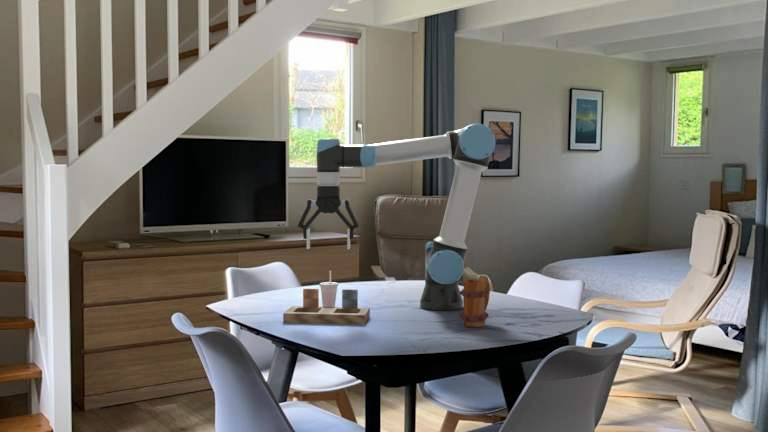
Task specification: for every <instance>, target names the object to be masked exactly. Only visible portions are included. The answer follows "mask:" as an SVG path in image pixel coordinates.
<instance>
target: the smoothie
mask: <svg viewBox="0 0 768 432" xmlns="http://www.w3.org/2000/svg"><path fill="white" fill-rule="evenodd" d="M338 287H339V283H338V282H336V281H332V270H329V281H324V282H323V281H322V282H320V283H319V288H320V292H321V293H320V295H321V302H322V307H336V300H337V294H338V293H337V292H338Z"/></svg>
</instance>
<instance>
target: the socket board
mask: <svg viewBox="0 0 768 432" xmlns="http://www.w3.org/2000/svg"><path fill="white" fill-rule="evenodd" d="M319 291H320V290H319V288H302V305H291V306H290V307H288V308H287V310H284V312H283V314H282V315H283V316H282V318H283V320H282V321H283V324H288V323H289V324H322V325H323V324H325V325H329V324H330V325H359V324H365V323H367V322H368V320H369V319H370V315H371V308H370V307H359V306H358V302H359V301H358V300H359V299H358V298H359V296H358V292H359V290H358V289H348V288H347V289H346V288H342V290H341V306H335V307H323V306H319V301H320V297H319V295H320V294H319ZM365 325H366V324H365Z"/></svg>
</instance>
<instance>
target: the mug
mask: <svg viewBox="0 0 768 432" xmlns="http://www.w3.org/2000/svg"><path fill="white" fill-rule="evenodd" d="M489 281H490V280H489V278H488V276H486V275H479V277H478V278H477V279H475V280H474V279H468V280H464V282H463V289H462V290H460V294H461V296H462V299H463V311H462V312H461V313H460V314H459V315H458V317H459V319H461V321H463V325H464V326H465V327H468V328H481V327H483V326H484V325H485V323H486V320H487V319H488V318H489V313H487V311H486V310H487V307H488V304H489V300H490V292H491V287H490V282H489Z"/></svg>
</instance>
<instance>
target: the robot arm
mask: <svg viewBox="0 0 768 432" xmlns="http://www.w3.org/2000/svg"><path fill="white" fill-rule="evenodd" d="M316 145H317V146H316V170H317V171H316V184H317V187H316V199H315V200H313V199H308V200H307V204H306V208H305V210H304V212H303V214H302V216H301V217H300V220H299V222H298V224H297V227H298V228H301V229H302V231H303V234H302V235H303V239H305V240H306V250H309V249H311V228H309V227H310V226H311V224H312V223H314V221H315V220H316V218H317V217H319V215H320V214H321V213H323V214H334V213H335V214H337V216H338V217H339V218H340V219H341V221H343V223H344V224H345V225H346V226H347V227H348V229H347V230H346V231H347V233H346V236H347V237H346V238H347V242H346V246H347V250H350V249H351V240H354V235H355V234H354V233H355V232H354V231H355V229H357V228H359V226H360V224H359V221H358V220H357V218H356V216H355V214H354V212H353V210H352V208H351V205H350V204H351V203H350V199H345V200H341V199H340V198H341V197H340V196H341V194H340V193H341V192H340V191H341V188H340V183H341V181H340V180H341V179H340V178H341V177H340V175H341V174H340V173H341V172H340V169H341V168H365V169H366V168H374V167H375V166H381V165H388V164H389V165H391V164H397V163H406V162H413V161H414V162H415V161H421V160H430V159H437V158H438V159H439V158H448V159H449V160H453V162H454V164H455V165H456V167H455V171H454V174H453V178H452V184H451V187H450V191H449V195H448V198H447V203H446V206H445V212H444V215H443V219H442V223H441V227H440V231H439V235H438V236H436V237H435V238H433V241H428V242H426V244H425V249H424V254H425V259H424V261H425V262H424V263H425V264H424V265H425V266H424V267H425V269H424V270H425V271H424V273H425V274H424V275H425V276H424V283H425V284H424V286H423V292H422V293H421V297H420V300H419V307H420V308H421V309H424V310H425V309H426V310H432V311H454V310H455V311H456V310H460V309H461V310H462V309H464V301H463V296H462V295H461V294H460V291H461V290H460V287H459V280H460V279H461V277H462V276H463V274H464V273H465V272H464V271H465V260H466V255H467V253H468V252H467V251H468V246H467V245H466V242H465V241H466V236H467V233H468V228H469V224H470V220H471V217H472V212H473V209H474V205H475V204H474V203H475V200H476V198H477V197H476V196H477V193H478V189H479V185H480V181H481V176H482V173H483V172H484V171H486V170H487V169H488V168H489V163H490V161H491V160H490V159H491V156H492V154H493V152H494V151H495V148H496V136H495V134H494V132H493V130H491V128H490V127H488V126H487V125H485V124H482V123H476V122H474V123H470V124H467V125H466V126H465V127H462V128H460V129H456V130H450V131H446V133H444V134H442V135H441V134H440V135H434V136H425V137H418V138H417V137H416V138H409V139H401V140H400V139H399V140H392V141H386V142H379V143H372V144H371V143H368V144H341V143H340V139H339V138H320V139H318V140H317V144H316ZM315 205H316V207H317V210H315V212H314V213H313V215H312V216H311V217H310V218H309V219H308V221H306V219H307V217H308V215H309V213H310V211H311V209H312V207H314V206H315ZM341 205H342V206H343V207H345V210H346V212H347V214H348V216H349V218H350V219H351V221H352V223H351V222H350V220H349V219H348V217H346V216H345V215H344V214H343V212H342V211H341V209H340V206H341ZM305 221H306V223H305Z"/></svg>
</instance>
